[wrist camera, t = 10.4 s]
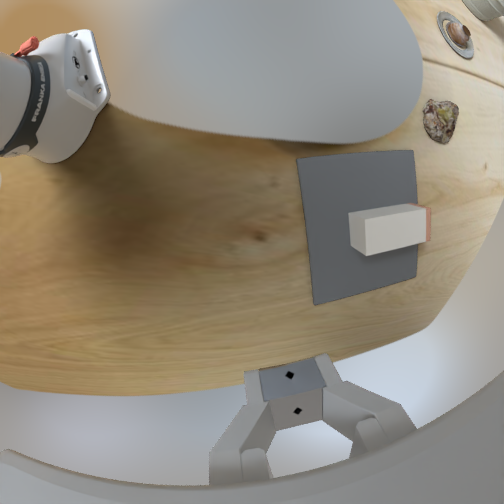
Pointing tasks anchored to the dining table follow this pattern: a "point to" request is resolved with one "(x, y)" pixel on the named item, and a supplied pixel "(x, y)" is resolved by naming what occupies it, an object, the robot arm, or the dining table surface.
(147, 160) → the dining table surface
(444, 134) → the mineral rock
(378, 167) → the rubber mat
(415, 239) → the cream block
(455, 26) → the pastry
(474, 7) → the jar
